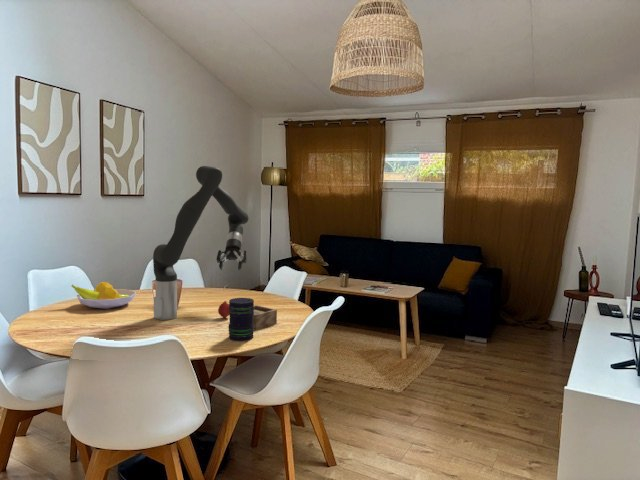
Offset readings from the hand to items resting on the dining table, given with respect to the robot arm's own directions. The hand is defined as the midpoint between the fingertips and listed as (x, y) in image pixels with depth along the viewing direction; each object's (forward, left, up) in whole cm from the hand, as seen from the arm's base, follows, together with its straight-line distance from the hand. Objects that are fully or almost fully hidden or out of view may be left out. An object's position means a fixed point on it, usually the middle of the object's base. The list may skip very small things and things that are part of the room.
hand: (230, 269), depth 220 cm
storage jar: (-24, -34, -21) cm, 47 cm away
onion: (-9, -7, -21) cm, 24 cm away
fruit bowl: (-33, +54, -21) cm, 67 cm away
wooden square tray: (-6, -24, -21) cm, 33 cm away
